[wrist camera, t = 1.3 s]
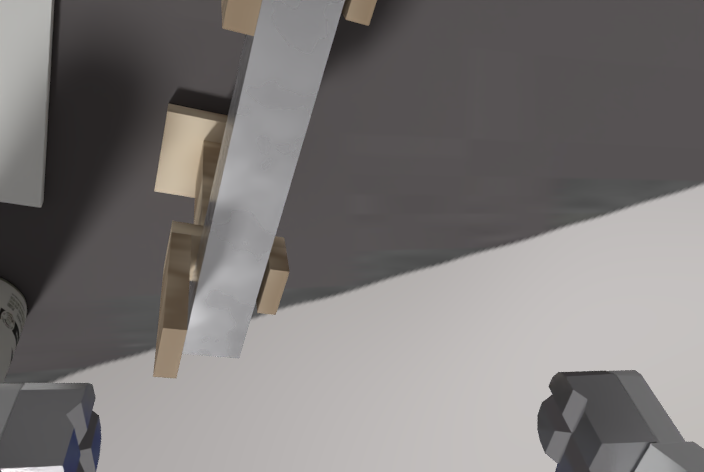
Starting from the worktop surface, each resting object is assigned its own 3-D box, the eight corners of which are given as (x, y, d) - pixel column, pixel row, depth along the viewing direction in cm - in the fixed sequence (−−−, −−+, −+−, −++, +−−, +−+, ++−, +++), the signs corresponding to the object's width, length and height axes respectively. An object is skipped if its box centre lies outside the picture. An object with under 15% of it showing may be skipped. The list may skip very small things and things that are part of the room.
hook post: (155, 182, 44) (125, 397, 29) (168, 103, 41) (142, 298, 25) (268, 200, 46) (296, 408, 31) (289, 128, 43) (330, 319, 28)
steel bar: (184, 314, 35) (182, 353, 33) (290, -170, 23) (299, -164, 21) (237, 319, 36) (238, 358, 34) (367, -143, 24) (384, -133, 22)
